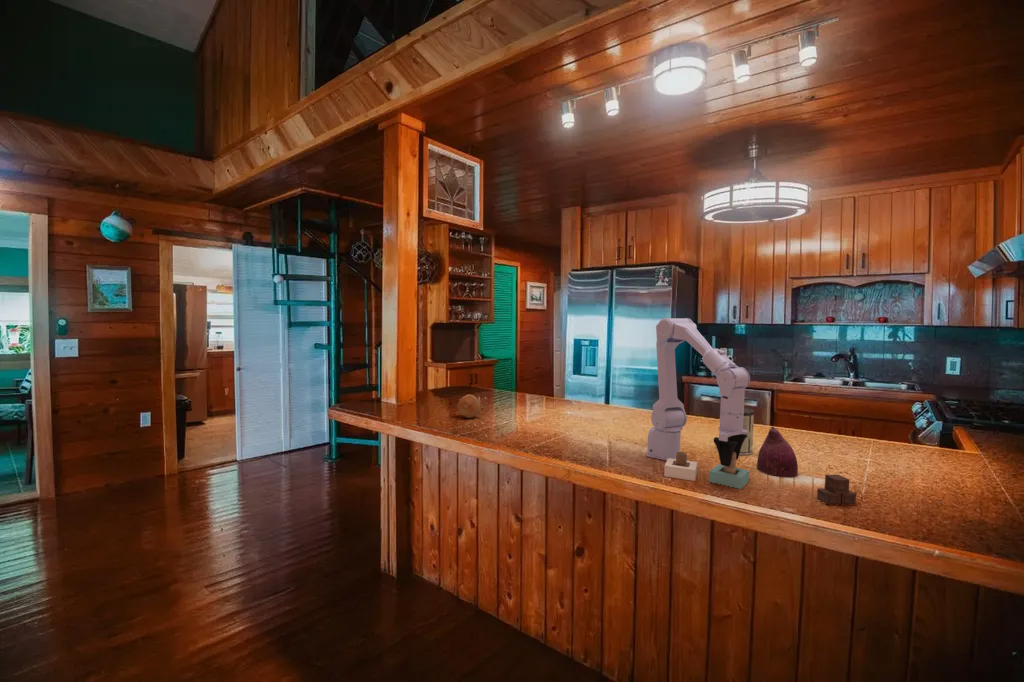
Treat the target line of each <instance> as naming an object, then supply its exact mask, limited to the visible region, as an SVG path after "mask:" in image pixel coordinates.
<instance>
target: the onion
mask: <svg viewBox="0 0 1024 682" xmlns="http://www.w3.org/2000/svg"><path fill="white" fill-rule="evenodd" d="M456 408H457V410H458V414H460V415H461V416H462V417H464V418H467V419H473V418H474V417H476V416H478V414H479V413H480V411H481V409H482V407H481V403H480V400H479V399H478V398H477V397H476V396H475V395H473V394H470V393H469V394H466V395H464V396H462V397H461V398H460V399H459V400H458V403H457V407H456Z"/></svg>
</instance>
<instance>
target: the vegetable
mask: <svg viewBox="0 0 1024 682" xmlns="http://www.w3.org/2000/svg"><path fill="white" fill-rule="evenodd" d="M756 462H757V463H756V468H757V469H758V470H759V471H760V473H763V474H766V475H769V474H770V475H771V476H774V475H775V477H776V476H777V477H782V478H787V477H788V478H790V477H791V478H793V477H797V475H798V471H799V465H798V460H797V457H796V454H795V451H794V449H793V447H792V446H791V444H790V443H789V442H788V441H787V440H786V438H784V436H783V435H782V433H780V431H779V430H778V429H777V428H775V427H774V426H772V425H771V428H770V429H769V430H768V433H767V435H766V437H765V440H764V441H763V443H762V445H761V446H760V448H759V451H758V455H757V461H756Z"/></svg>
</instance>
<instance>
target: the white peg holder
mask: <svg viewBox="0 0 1024 682" xmlns="http://www.w3.org/2000/svg"><path fill="white" fill-rule="evenodd" d="M663 472H664V473H663V474H664V476H663V477H664V478H672V479H680V480H685V481H686V480H687V481H691V482H692V481H693V482H695V481H696V477H697V473H698V461H692V460H687V463H686V467H684V466H676V459H672V458H668V459H667V460H666V462H665V464H664V471H663Z"/></svg>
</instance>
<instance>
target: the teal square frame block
mask: <svg viewBox="0 0 1024 682" xmlns="http://www.w3.org/2000/svg"><path fill="white" fill-rule="evenodd" d="M749 481H750V470H748V469H745V468H739V467H736V470H735V474H730V473H726V472H724V466H723V465H721V463H720V464H719V463H718V464H717V465H715V466H713V468H711V469H710V470H709V472H708V483H711V482H712V483H713V484H715V483H717V484H716V485H720V484H721V485H720V486H724V485H725V487H728V486H729V488H733V487H734V488H733V489H737V488H738V490H742V489H743V488H744V487H745V486H746V485H747V484H749ZM742 487H743V488H742Z"/></svg>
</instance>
